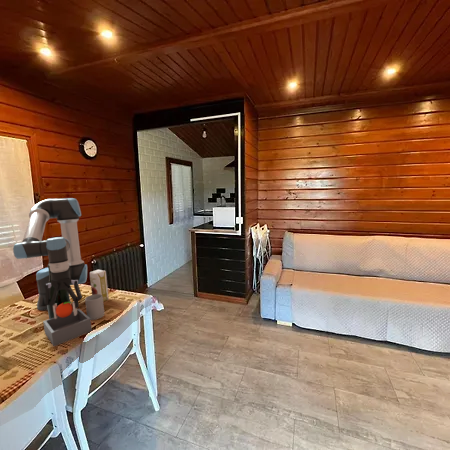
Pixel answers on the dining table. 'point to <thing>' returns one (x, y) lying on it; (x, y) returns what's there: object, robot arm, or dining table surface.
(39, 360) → the dining table surface
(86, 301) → the mug
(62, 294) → the wine bottle
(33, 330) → the dining table surface
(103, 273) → the juice carton
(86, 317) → the bin
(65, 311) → the tomato
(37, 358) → the dining table surface
